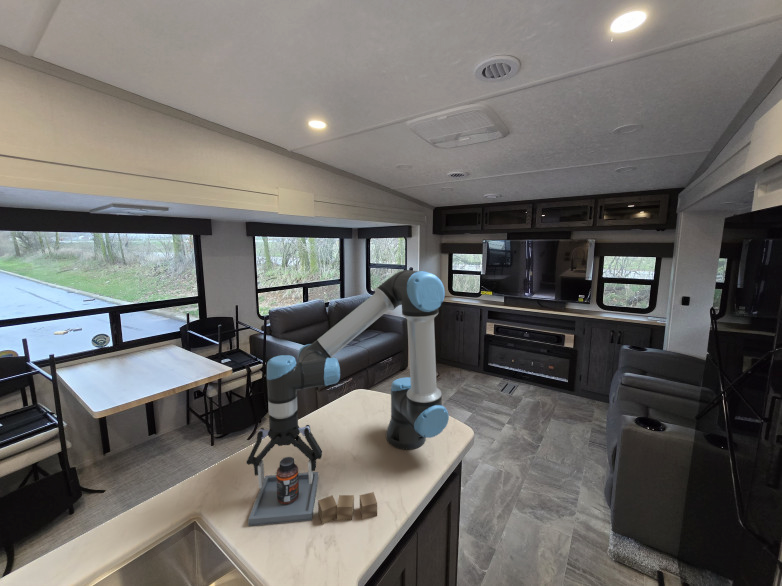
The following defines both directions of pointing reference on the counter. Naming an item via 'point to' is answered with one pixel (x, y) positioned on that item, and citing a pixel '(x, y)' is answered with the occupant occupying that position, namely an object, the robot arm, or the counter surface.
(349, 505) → the block
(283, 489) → the supplement bottle
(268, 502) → the tray
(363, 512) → the block
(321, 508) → the block
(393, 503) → the counter surface
